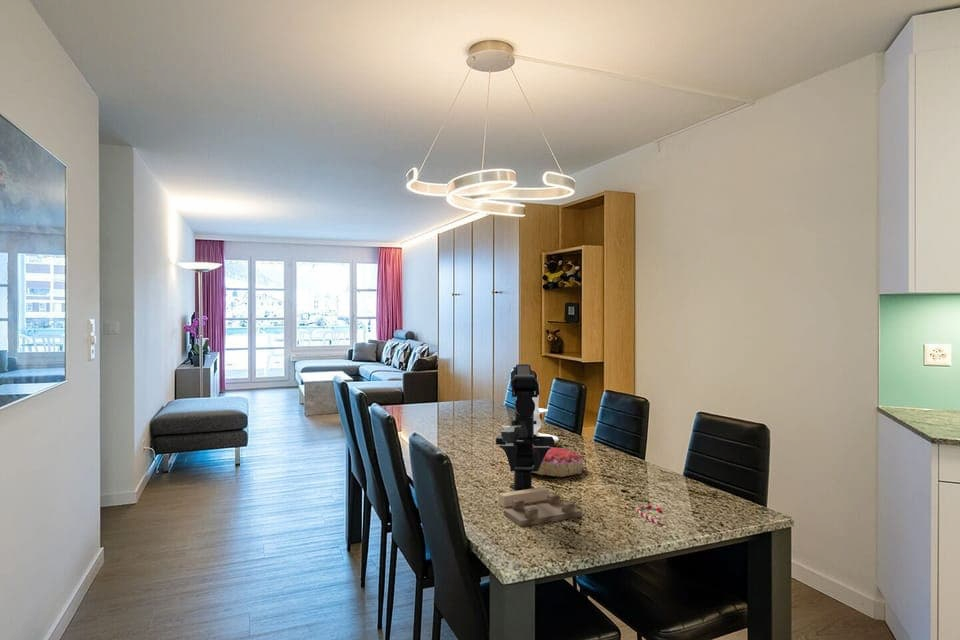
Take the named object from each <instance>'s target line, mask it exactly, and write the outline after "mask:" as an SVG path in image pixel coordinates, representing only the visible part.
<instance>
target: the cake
mask: <svg viewBox="0 0 960 640" xmlns="http://www.w3.org/2000/svg"><path fill="white" fill-rule="evenodd" d="M550 447H551V449H549V450H548V451H547V453H546V455H545V457H544V459H543V461H542V463H541V465H540V468H539V470H538V471H537V472H532V471H531V473H534V474H537V475H540V476H543V475H544V476H547V477H555V478H559V479H561V478H564V477H565V478H566V477H568V476H569V477H570V476H574V475H581V474H582V470H583V457H582V455H580V454H579V453H578V452H576V451H574V450H571V449H569V450H568V449H567V448H565V447H564V448H563V447H555V446H550ZM532 466H533V465H532Z"/></svg>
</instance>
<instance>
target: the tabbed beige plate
mask: <svg viewBox="0 0 960 640" xmlns="http://www.w3.org/2000/svg"><path fill="white" fill-rule="evenodd" d="M546 501H547V503H546V502H545V503H539V504H534V505H532V504H531V505H526V506H525V504H524V500H522V499H515V500H512V506H511V508H505V509H503V516H505V518H508V519H509V520H510V521H512V522H514V523H515V524H516V525H518V526H519V527H528V526H533V525H537V524H543V523H549V522H556V521H562V520H567V519H573V518H575V519H576V518H580V517H583V510H581V509H579V508H577V507H576V506H575V505H576V504H575V503H574V502H573V501H565V500H560V494H557V493H550V494H549V495H547V500H546Z"/></svg>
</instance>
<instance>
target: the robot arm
mask: <svg viewBox="0 0 960 640" xmlns="http://www.w3.org/2000/svg"><path fill="white" fill-rule="evenodd" d="M535 375H536V373H535V371H534V370H532V368H531V365H530V364H529V363H520V364H519V363H517V364H516V365H515V368H514V369H513V370H512V371H511V372H510V388H511V398H515V401H514V420H511V423H510V424H511V425H509V426H510V427H507V428H506V429H502V430H500V434H501V435H500V434H499V435H497V436H496V437H495V445H498V447H499V448H501V450H503V451H504V454H505V455H506V458H507V461H508V464H509V471H510V472H513V484H510V485H509V488H511V489H513V491H514V490H515V491H519V490H526V489H532V488H536V487H535V486H533V485H532V478H533V477H532V473H533V472H537V471H538V470H539V468H540V465H541V463H542V461H543V459H544V457H545V455H546V453H547V451H548V450H549V449H551V447H555V442H554V439H553V437H551V436H537V435H534V424H537V423H536V421H534V410H535V403H534V401H533V400H532V397H538V395H539V396H540V390H539V383H540V382H538V380H537V379H536V376H535ZM534 391H535V392H534ZM532 444H533V445H534V446H536V447H533V445H532ZM532 465H533V466H532ZM531 471H532V472H531Z"/></svg>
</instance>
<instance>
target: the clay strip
mask: <svg viewBox="0 0 960 640" xmlns="http://www.w3.org/2000/svg"><path fill="white" fill-rule="evenodd" d="M547 495H549V488H546V487H544V486H540V487H535V488H532V489H526V490H519V491H516V490H515V491H514V490H513V491H507V492H502V493H501V492H500V493H498V505H500V506H502V507H503V508H506V507H512V500H515V499H522V500H524V505H526V504H531V503H535V502H536V503H537V502H542V501H547Z"/></svg>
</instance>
